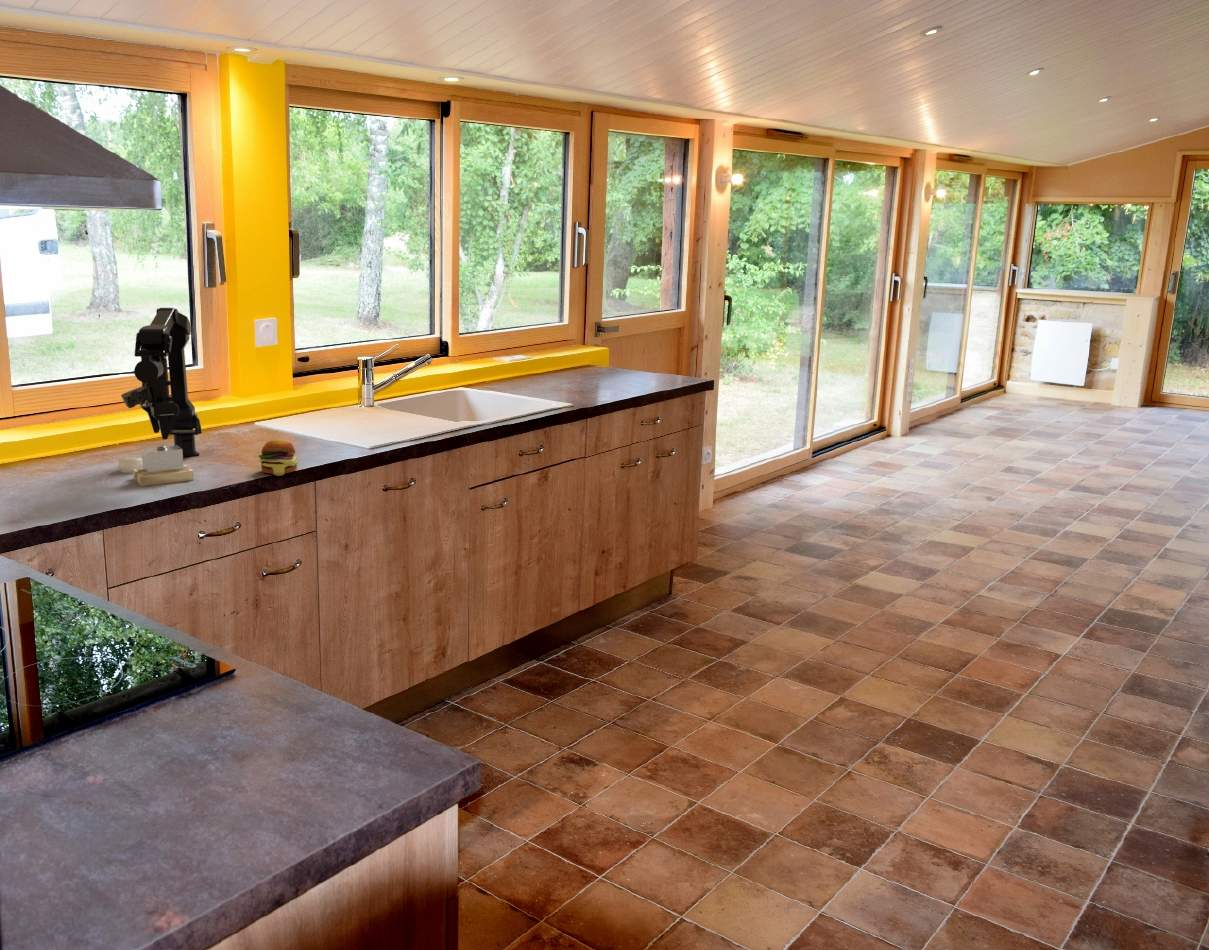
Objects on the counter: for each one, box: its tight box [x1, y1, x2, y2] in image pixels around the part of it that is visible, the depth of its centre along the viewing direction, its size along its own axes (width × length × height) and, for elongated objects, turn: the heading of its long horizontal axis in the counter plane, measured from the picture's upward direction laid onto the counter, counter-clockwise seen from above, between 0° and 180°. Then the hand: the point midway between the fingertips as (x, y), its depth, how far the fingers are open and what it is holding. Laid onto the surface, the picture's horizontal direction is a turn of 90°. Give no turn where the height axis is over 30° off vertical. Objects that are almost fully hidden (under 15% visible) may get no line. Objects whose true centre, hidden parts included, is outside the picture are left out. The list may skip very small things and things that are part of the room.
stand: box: [132, 463, 195, 487], centre depth 283 cm, size 9×13×3 cm
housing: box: [141, 445, 184, 473], centre depth 282 cm, size 5×9×6 cm, turn 126°
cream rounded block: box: [117, 455, 143, 474], centre depth 291 cm, size 6×6×4 cm
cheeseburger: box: [258, 439, 298, 477], centre depth 294 cm, size 10×11×10 cm
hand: (160, 436), depth 280 cm, fingers open, 9 cm apart
